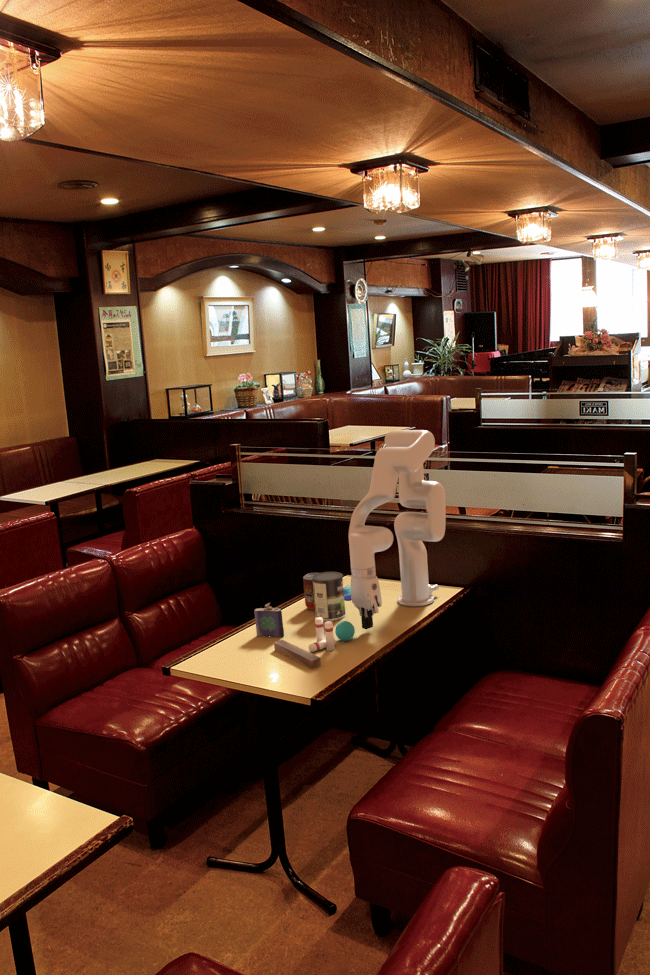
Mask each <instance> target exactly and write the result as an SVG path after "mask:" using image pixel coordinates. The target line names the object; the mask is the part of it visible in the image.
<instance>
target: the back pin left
mask: <svg viewBox="0 0 650 975" xmlns="http://www.w3.org/2000/svg"><path fill="white" fill-rule="evenodd" d="M323 625H324V636H325V639H326V646H327V647H326V651H327V652H334V651H335V650H336V647H335V645H334V638H335V637H334V635H335V634H334V625H333V621H324V622H323Z"/></svg>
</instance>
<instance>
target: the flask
mask: <svg viewBox="0 0 650 975" xmlns="http://www.w3.org/2000/svg"><path fill="white" fill-rule="evenodd" d="M270 604H271V602H268V603H266V604H265V605H264V608H262V607H260V608H255V609H254V610H253V611H254V612H253V613H254V620H255V631H256V637H259V638H276V637H277V638H278V637H281V638H284V637H285V628H284V621H283V612H282V609H281V608H278V607H272V606H271V605H270ZM269 636H270V637H269ZM283 636H284V637H283Z"/></svg>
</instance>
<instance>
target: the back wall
mask: <svg viewBox="0 0 650 975" xmlns="http://www.w3.org/2000/svg"><path fill="white" fill-rule="evenodd" d="M273 645H274V646H273V647H274V651H275V650H276V651H275V652H277V651H278V653H279V652H280V654H281V655H283V654H284V655H283V656H285V655H286V656H285V657H287V658H289V657H290V658H289V659H291V660H294V661H295V662H298V663H299V664H302V665H303V666H305V667H308V668H309V669H311V670H314V669H317V668H320V667H322V659H321V657H320V656H317V655H316V654H314V653H313V652H312V653H311V652H310V651H307V650H306V649H303V648H301V647H299V646H296V645H295V644H293V643H290V642H288V641H286V640H284V639H280V640H277V641H274V642H273Z"/></svg>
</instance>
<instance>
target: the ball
mask: <svg viewBox="0 0 650 975" xmlns="http://www.w3.org/2000/svg"><path fill="white" fill-rule="evenodd" d="M355 630H356V629H355V627H354V625H353V624H352V622H350V621H348V620H343V621H340V622H338V623H337V625H336V626H335V629H334V631H335V636H336V637H337V639H339V640H340V641H343V642H347V641H350V640H351V639H352V638H354V635H355V633H356V631H355Z"/></svg>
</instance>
